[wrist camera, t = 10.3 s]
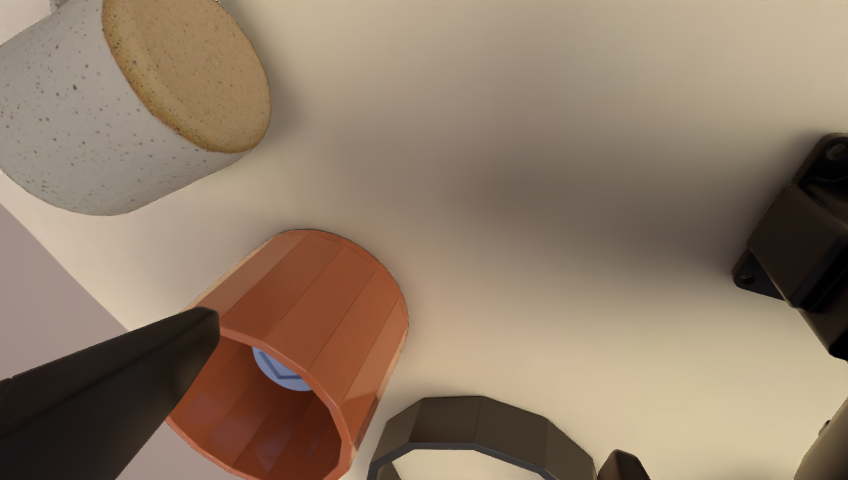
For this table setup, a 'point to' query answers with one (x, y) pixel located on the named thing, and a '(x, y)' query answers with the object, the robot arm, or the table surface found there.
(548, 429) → the dark grey ring
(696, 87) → the table surface
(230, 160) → the ceramic mug
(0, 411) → the robot arm
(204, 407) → the terracotta cup
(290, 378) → the decorative dice
